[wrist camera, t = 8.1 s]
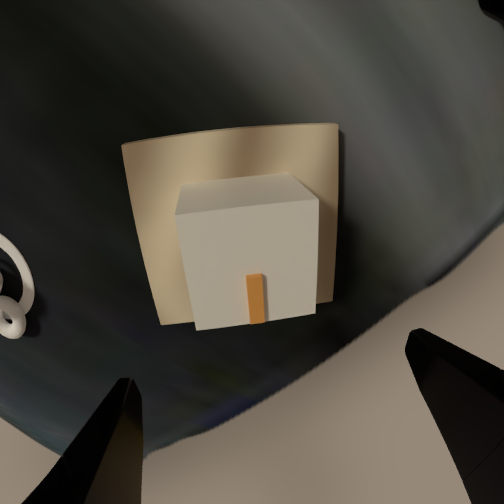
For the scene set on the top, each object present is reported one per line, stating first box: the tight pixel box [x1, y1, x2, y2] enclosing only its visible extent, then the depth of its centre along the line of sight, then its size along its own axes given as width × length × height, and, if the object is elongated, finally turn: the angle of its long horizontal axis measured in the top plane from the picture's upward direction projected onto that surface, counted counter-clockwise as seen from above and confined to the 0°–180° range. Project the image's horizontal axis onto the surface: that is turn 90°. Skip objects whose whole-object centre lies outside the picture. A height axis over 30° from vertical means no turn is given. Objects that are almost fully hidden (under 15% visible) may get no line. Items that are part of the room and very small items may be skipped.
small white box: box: [175, 173, 319, 330], centre depth 17 cm, size 6×6×5 cm
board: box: [121, 123, 338, 325], centre depth 18 cm, size 12×12×4 cm
